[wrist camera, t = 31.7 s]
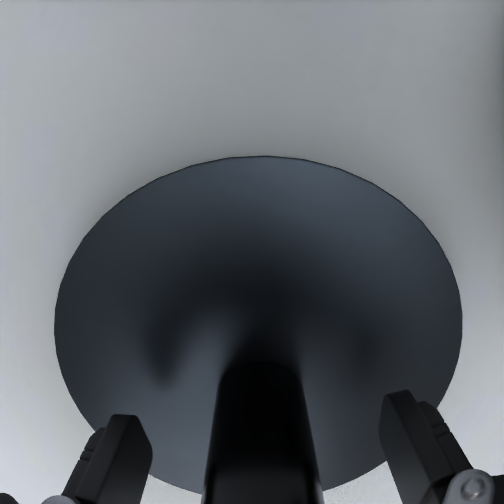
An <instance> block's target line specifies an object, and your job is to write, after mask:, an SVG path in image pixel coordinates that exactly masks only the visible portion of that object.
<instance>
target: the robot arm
mask: <svg viewBox="0 0 504 504" xmlns="http://www.w3.org/2000/svg"><path fill="white" fill-rule="evenodd" d="M378 434H379V440H380V444H381V447H382V449H383V452H384V454H385V457H386V460H387V462H388V465H389V468H390V470H391V473H392V476H393V478H394V481H395V484H396V487H397V489H398V492H399V495H400V498H401V500H402V503H403V504H504V475H498V476H490V475H489V474H488V473H486V472H484V471H482V470H478V469H474V468H473V467H472V466H471V464H470V463H469V461H468V459H467V457H466V456H465V454H464V452H463V451H462V449H461V447H460V446H459V444H458V442H457V441H456V439H455V437H454V436H453V434H452V432H450V429H449V427H448V426H447V424H446V423H444V419H443V418H442V416H441V415H440V413H439V411H438V410H437V409H436V408H435V407H433V406H432V405H430V404H429V403H428V402H426V401H422V402H418V403H417V402H416V400H415V398H414V397H413V395H412V393H411V392H410V391H409V390H408V389H406V390H402V391H398V392H394V393H389V394H385V395H384V398H383V403H382V409H381V415H380V421H379V427H378ZM84 449H85V451H83V452H82V454H81V456H80V460H78V462H77V464H76V466H75V468H74V470H73V472H72V474H71V476H70V478H69V480H68V482H67V484H66V487H65V489H64V491H63V492H62V494H61V495H56V496H52V497H49V498H47V499H46V500H45V501H43V502H42V504H140V501H141V498H142V494H143V491H144V488H145V484H146V481H147V477H148V474H149V471H150V467H151V464H152V460H153V450H152V446H151V443H150V441H149V439H148V437H147V435H146V433H145V431H144V429H143V426H142V424H141V422H140V420H139V418H138V417H137V416H136V415H126V414H113V415H112V416H111V418H110V420H109V422H108V424H107V426H106V428H104V427H100V428H99V429H98V430H97V431H96V432H95V433H94V434H93V435H92V436H91V437H90V438H89V440H88V442H87V444H86V446H85V448H84ZM0 504H19V503H18V502H17V501H16V500H15V499H14V498H13V497H12V496H11V495H9V494H6V493H0Z"/></svg>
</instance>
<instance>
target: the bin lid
mask: <svg viewBox="0 0 504 504" xmlns="http://www.w3.org/2000/svg"><path fill="white" fill-rule="evenodd" d="M54 336H55V345H56V354H57V358H58V362H59V366H60V369H61V373H62V376H63V379H64V381H65V383H66V386H67V388H68V391H69V393H70V395H71V397H72V399H73V400H74V402H75V404H76V406H77V407H78V409H79V411H80V412H81V414H82V415H83V416H84V418H85V419H86V420H87V422H88V423H89V424H90V426H91V427H92V428H93V430H94V431H95V432H96V431H97V430H98V429H99V428H100V427H104V428H106V426H107V424H108V422H109V420H110V418H111V416H112V415H113V414H126V415H136V416H137V417H138V418H139V420H140V422H141V424H142V426H143V429H144V431H145V433H146V435H147V437H148V439H149V441H150V443H151V446H152V450H153V460H152V464H151V467H150V471H149V474H150V475H152V476H154V477H156V478H158V479H160V480H162V481H164V482H167V483H169V484H171V485H174V486H176V487H179V488H182V489H185V490H188V491H191V492H195V493H199V494H202V498H201V504H325V503H324V498H323V492H322V491H325V490H328V489H332V488H335V487H337V486H340V485H342V484H345V483H347V482H349V481H352V480H354V479H356V478H358V477H360V476H362V475H364V474H366V473H367V472H369V471H371V470H373V469H374V468H376V467H378V466H379V465H381V464H382V463H384V462H385V461H387V460H386V457H385V454H384V452H383V449H382V447H381V444H380V440H379V434H378V427H379V421H380V415H381V409H382V403H383V398H384V395H385V394H389V393H394V392H398V391H402V390H406V389H408V390H409V391H410V392H411V393H412V395H413V397H414V398H415V400H416V402H417V403H418V402H422V401H426V402H428V403H429V404H430V405H432V406H433V407H435V408H436V409H437V407H438V406H439V404H440V402H441V401H442V399H443V397H444V395H445V393H446V391H447V389H448V387H449V384H450V382H451V380H452V378H453V375H454V371H455V368H456V365H457V362H458V358H459V353H460V347H461V340H462V308H461V301H460V295H459V289H458V286H457V283H456V280H455V277H454V274H453V271H452V268H451V265H450V263H449V261H448V259H447V258H446V256H445V254H444V252H443V250H442V248H441V246H440V244H439V243H438V241H437V240H436V239H435V237H434V236H433V235H432V233H431V232H430V231H429V230H428V228H427V227H426V226H425V224H424V223H423V222H422V221H421V220H420V219H419V218H418V217H417V216H416V215H415V214H414V213H413V212H412V211H411V210H409V209H408V208H407V207H406V206H405V205H404V204H403V203H402V202H401V201H400V200H398V199H397V198H395V197H394V196H392V195H391V194H389V193H388V192H386V191H384V190H383V189H381V188H380V187H378V186H377V185H375V184H373V183H372V182H370V181H367V180H365V179H363V178H361V177H358V176H356V175H354V174H352V173H349V172H347V171H345V170H342V169H340V168H336V167H332V166H329V165H325V164H321V163H317V162H313V161H309V160H305V159H297V158H287V157H277V156H247V157H231V158H224V159H219V160H214V161H209V162H205V163H200V164H196V165H191V166H188V167H186V168H183V169H180V170H178V171H175V172H172V173H170V174H167V175H165V176H162V177H160V178H157V179H155V180H154V181H152V182H150V183H148V184H147V185H145V186H143V187H141V188H140V189H138V190H136V191H134V192H133V193H131V194H129V195H128V196H126V197H125V198H124V199H123V200H121V201H120V202H119V203H118V204H117V205H115V206H114V207H113V208H112V209H110V210H109V211H108V212H107V213H106V214H105V215H103V216H102V217H101V219H100V220H99V221H98V222H97V223H96V224H95V225H94V227H93V228H92V229H91V230H90V231H89V232H88V234H87V235H86V236H85V237H84V238H83V240H82V242H81V243H80V245H79V246H78V248H77V250H76V251H75V253H74V255H73V256H72V258H71V260H70V262H69V264H68V267H67V269H66V272H65V274H64V277H63V279H62V282H61V284H60V288H59V293H58V298H57V302H56V307H55V322H54Z"/></svg>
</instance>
